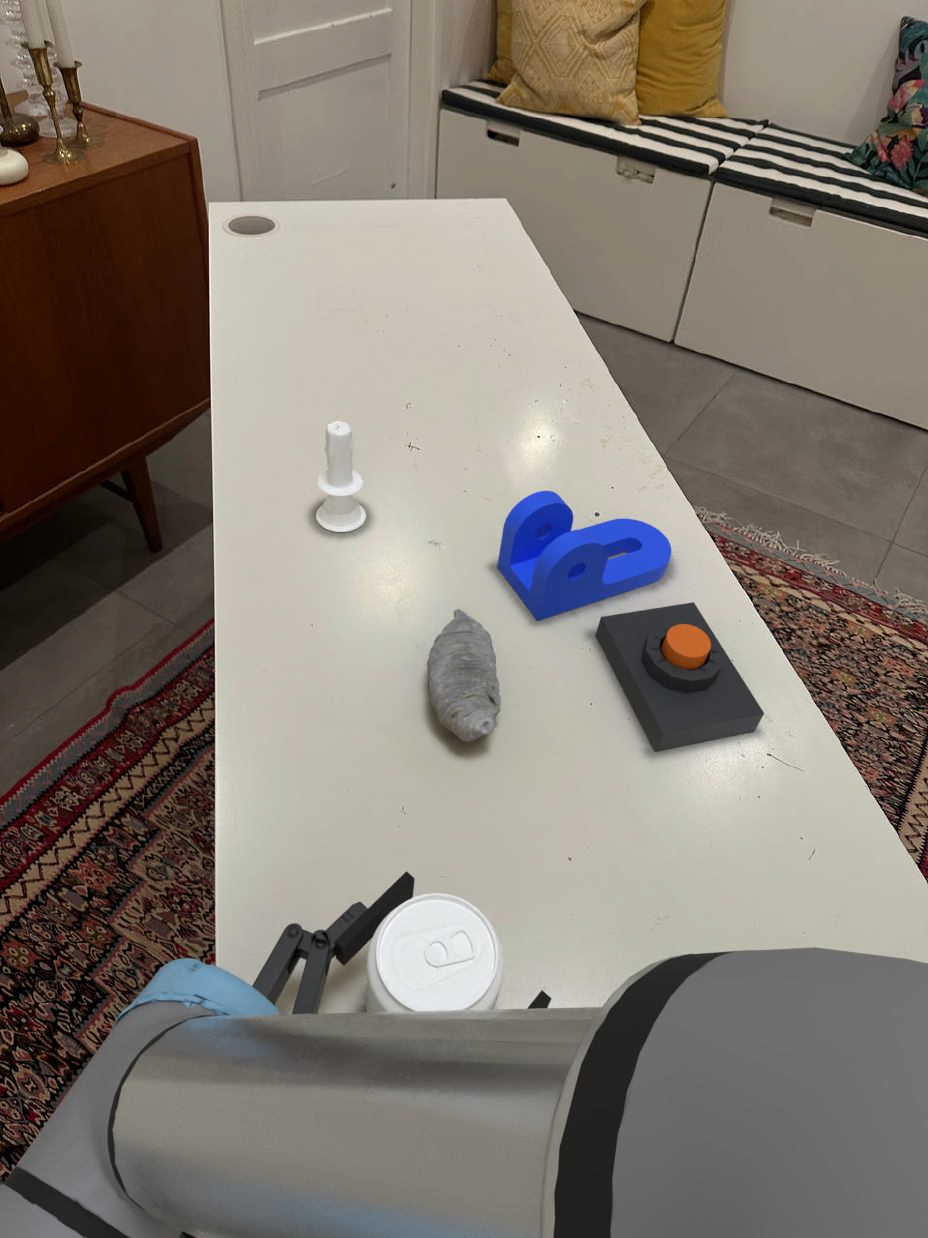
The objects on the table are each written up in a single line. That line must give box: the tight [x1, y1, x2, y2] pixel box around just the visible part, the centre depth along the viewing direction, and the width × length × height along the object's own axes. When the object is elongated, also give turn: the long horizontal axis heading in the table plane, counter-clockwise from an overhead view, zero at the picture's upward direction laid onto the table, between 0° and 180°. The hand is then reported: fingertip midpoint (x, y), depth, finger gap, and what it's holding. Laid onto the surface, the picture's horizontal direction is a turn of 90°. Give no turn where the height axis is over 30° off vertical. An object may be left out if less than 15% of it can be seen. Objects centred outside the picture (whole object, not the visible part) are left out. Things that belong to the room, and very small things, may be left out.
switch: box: [662, 624, 711, 670], centre depth 78 cm, size 4×4×2 cm
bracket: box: [496, 490, 672, 622], centre depth 88 cm, size 18×8×9 cm, turn 117°
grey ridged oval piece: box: [426, 608, 502, 743], centre depth 76 cm, size 6×14×8 cm, turn 4°
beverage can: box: [366, 892, 505, 1012], centre depth 54 cm, size 8×8×12 cm
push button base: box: [595, 601, 765, 752], centre depth 80 cm, size 14×10×4 cm
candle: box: [315, 420, 367, 533], centre depth 90 cm, size 5×5×12 cm
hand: (474, 940), depth 56 cm, fingers open, 11 cm apart
